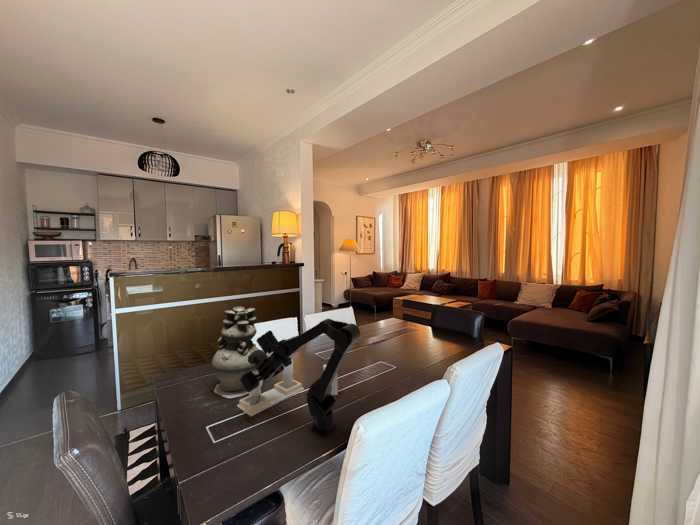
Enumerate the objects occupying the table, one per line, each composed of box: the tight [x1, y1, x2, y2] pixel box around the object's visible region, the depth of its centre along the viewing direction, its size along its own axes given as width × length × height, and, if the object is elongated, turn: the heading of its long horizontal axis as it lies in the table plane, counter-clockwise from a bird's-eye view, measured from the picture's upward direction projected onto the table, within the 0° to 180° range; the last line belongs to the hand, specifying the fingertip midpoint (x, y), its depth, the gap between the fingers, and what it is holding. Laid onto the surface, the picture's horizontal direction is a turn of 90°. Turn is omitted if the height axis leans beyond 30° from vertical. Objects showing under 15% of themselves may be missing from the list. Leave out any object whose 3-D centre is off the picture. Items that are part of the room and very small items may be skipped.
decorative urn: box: [211, 306, 264, 399], centre depth 125 cm, size 21×21×35 cm
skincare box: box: [322, 364, 339, 396], centre depth 120 cm, size 6×4×12 cm
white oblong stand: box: [236, 358, 305, 417], centre depth 116 cm, size 10×25×13 cm, turn 140°
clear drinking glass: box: [248, 371, 262, 406], centre depth 110 cm, size 4×4×12 cm
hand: (252, 384), depth 110 cm, fingers open, 9 cm apart
